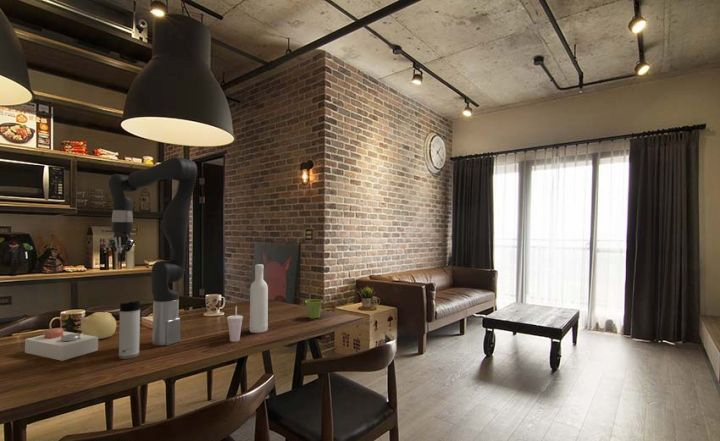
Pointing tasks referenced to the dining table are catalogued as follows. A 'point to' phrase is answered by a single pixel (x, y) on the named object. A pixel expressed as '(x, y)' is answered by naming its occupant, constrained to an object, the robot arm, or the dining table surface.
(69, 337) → the grey cube
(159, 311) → the robot arm
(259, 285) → the bottle
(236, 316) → the smoothie
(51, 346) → the socket panel
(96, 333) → the pale yellow round lump
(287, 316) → the dining table surface
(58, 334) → the pink gift box
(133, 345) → the travel mug
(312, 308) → the plant pot
